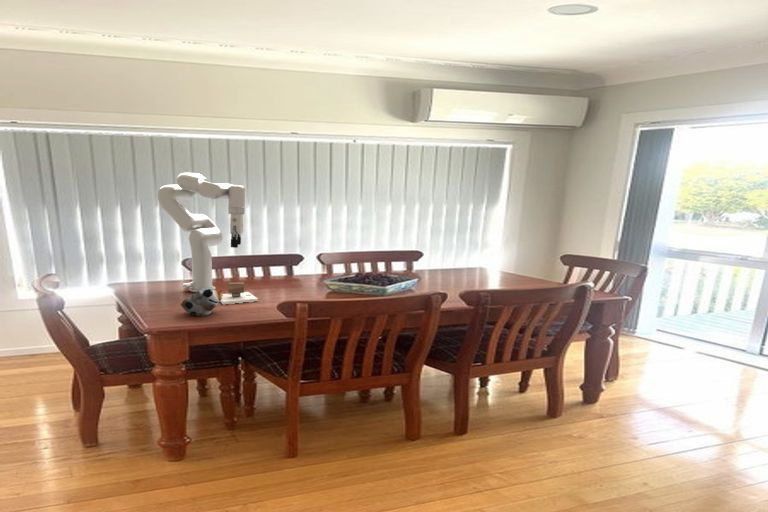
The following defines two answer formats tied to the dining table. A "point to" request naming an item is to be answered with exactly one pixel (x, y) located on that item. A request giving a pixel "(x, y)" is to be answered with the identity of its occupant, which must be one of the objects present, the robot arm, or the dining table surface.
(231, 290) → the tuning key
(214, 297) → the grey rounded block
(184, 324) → the dining table surface
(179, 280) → the dining table surface
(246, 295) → the dial board
